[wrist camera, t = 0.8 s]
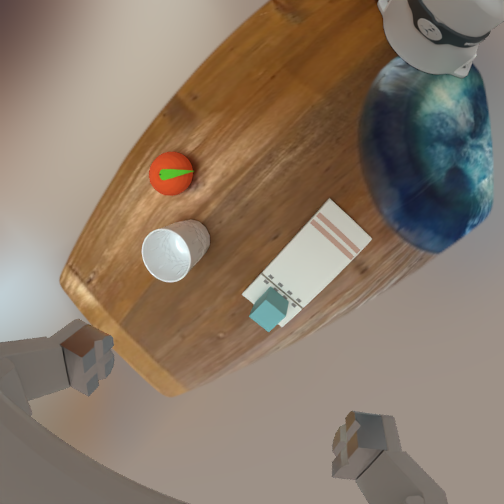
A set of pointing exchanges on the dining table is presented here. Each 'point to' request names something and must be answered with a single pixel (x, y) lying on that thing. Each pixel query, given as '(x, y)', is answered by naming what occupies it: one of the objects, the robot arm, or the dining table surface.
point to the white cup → (175, 249)
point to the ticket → (317, 253)
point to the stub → (270, 303)
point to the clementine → (171, 173)
